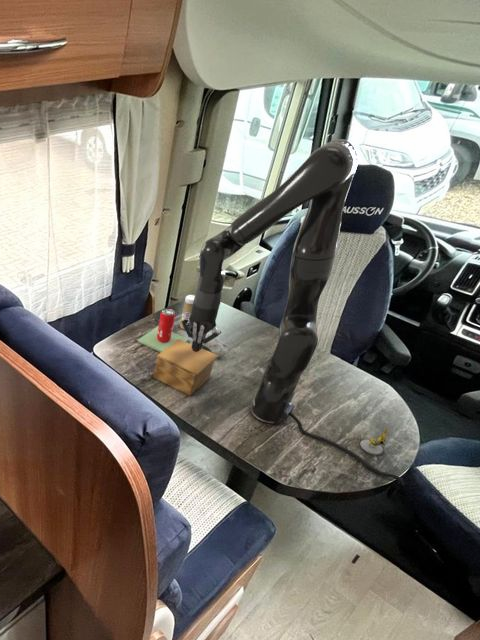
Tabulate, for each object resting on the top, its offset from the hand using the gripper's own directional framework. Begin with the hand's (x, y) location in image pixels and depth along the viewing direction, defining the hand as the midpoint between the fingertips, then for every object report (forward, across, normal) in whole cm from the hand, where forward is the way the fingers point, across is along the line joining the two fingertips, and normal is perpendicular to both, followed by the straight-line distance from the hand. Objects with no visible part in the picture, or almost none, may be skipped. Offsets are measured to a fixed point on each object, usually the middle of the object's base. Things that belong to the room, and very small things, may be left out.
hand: (195, 350), depth 142 cm
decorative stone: (+13, -4, +22) cm, 25 cm away
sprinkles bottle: (+13, -19, +30) cm, 37 cm away
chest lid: (+4, -2, 0) cm, 4 cm away
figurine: (+13, +54, +9) cm, 56 cm away
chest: (+12, -3, 0) cm, 13 cm away
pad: (+12, -20, +15) cm, 28 cm away
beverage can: (+12, -20, +14) cm, 27 cm away
